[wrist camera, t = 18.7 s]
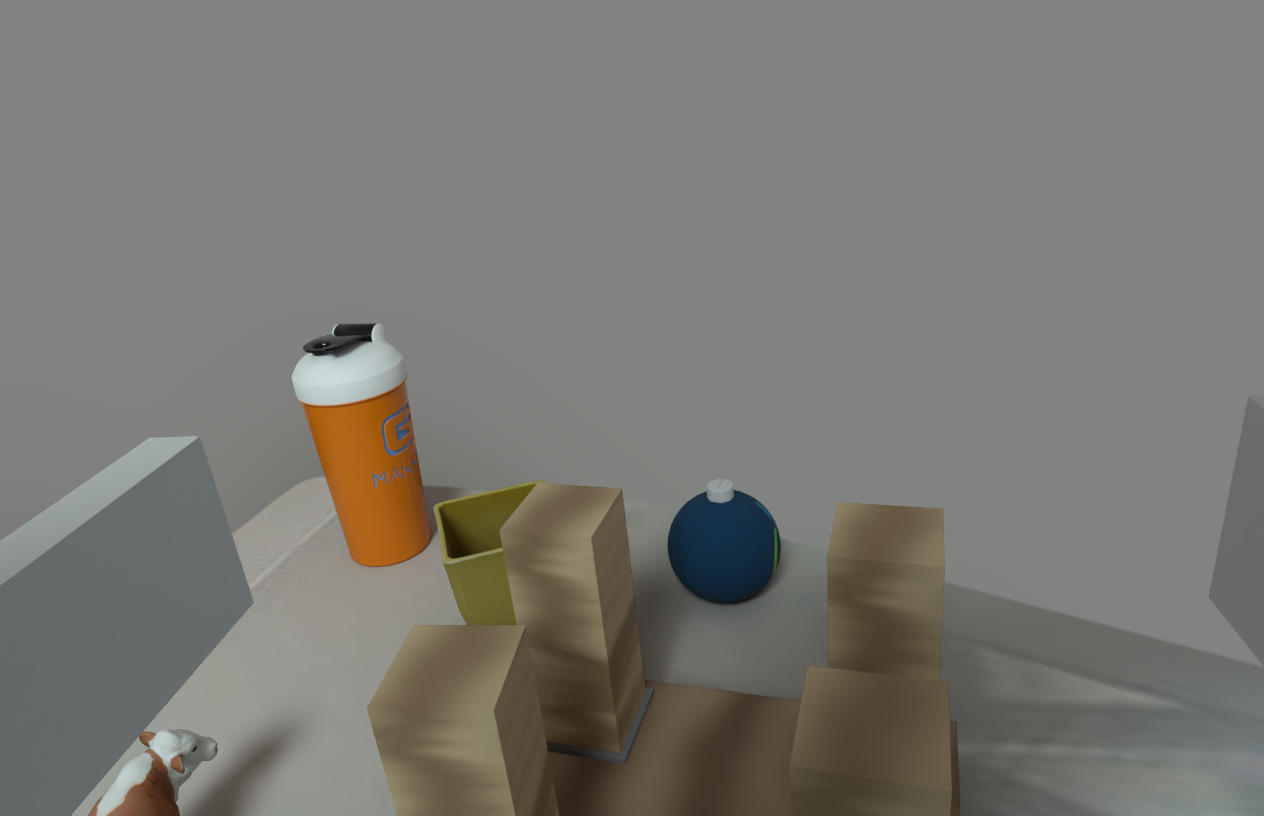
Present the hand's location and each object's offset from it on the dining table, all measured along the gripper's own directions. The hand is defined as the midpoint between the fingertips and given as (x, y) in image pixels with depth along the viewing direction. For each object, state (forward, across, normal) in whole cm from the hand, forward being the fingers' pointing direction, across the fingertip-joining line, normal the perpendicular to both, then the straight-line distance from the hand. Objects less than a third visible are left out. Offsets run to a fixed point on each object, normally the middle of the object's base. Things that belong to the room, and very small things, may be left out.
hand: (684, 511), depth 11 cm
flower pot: (+43, -18, -34) cm, 58 cm away
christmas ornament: (+46, -2, -34) cm, 57 cm away
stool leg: (+17, -12, -31) cm, 37 cm away
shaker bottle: (+53, -33, -34) cm, 71 cm away
